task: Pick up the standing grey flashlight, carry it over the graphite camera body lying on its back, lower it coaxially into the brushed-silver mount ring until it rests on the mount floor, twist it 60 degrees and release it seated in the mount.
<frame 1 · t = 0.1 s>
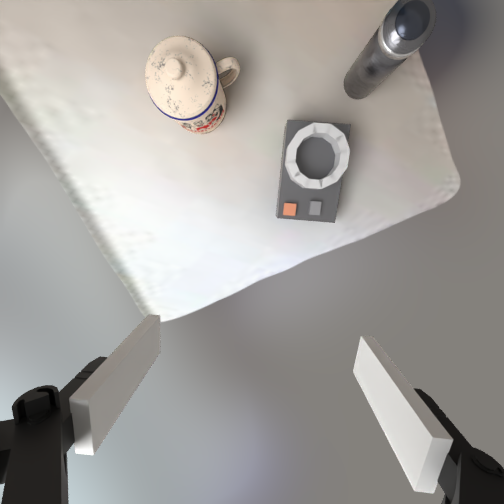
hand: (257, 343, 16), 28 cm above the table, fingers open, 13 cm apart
camera body: (307, 175, 39), on the table
grey flashlight: (359, 82, 36), on the table
teacup with lid: (207, 101, 38), on the table
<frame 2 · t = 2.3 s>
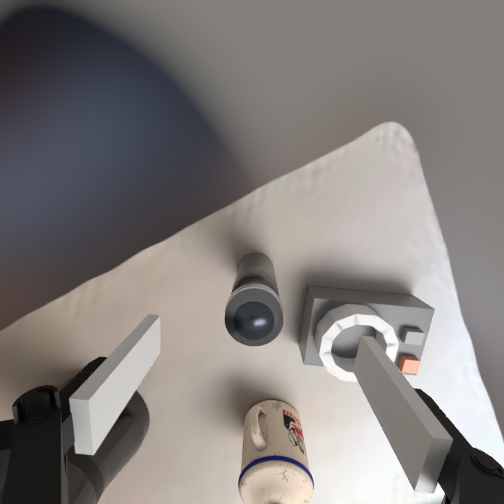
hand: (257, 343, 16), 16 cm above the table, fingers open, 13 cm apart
camera body: (353, 321, 33), on the table
grey flashlight: (256, 270, 31), on the table
teacup with lid: (268, 413, 37), on the table
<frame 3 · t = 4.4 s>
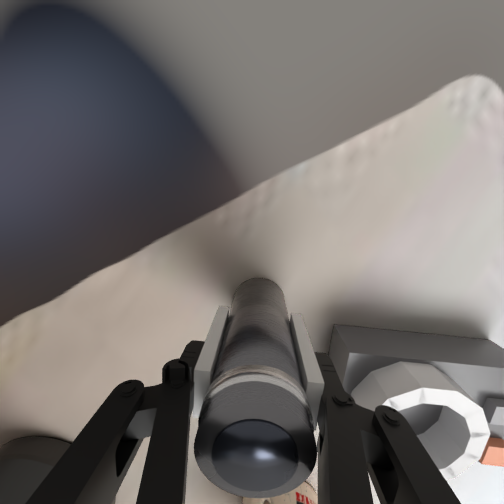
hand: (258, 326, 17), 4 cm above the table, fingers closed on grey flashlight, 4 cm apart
camera body: (399, 374, 23), on the table
grey flashlight: (259, 301, 22), on the table, touching gripper
teacup with lid: (275, 489, 27), on the table
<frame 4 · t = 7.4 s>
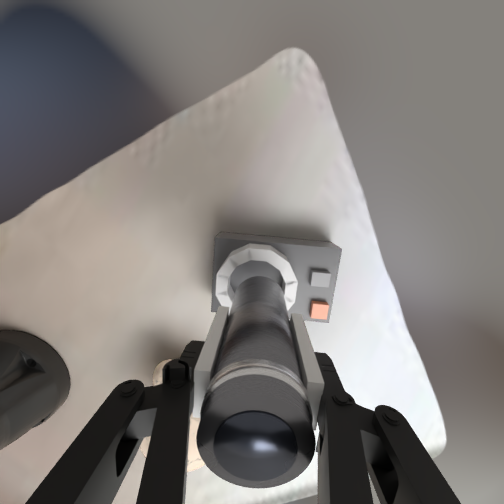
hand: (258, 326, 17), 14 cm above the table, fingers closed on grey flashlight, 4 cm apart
camera body: (272, 270, 31), on the table
grey flashlight: (259, 299, 22), point 9 cm above the table, touching gripper
teacup with lid: (192, 372, 35), on the table
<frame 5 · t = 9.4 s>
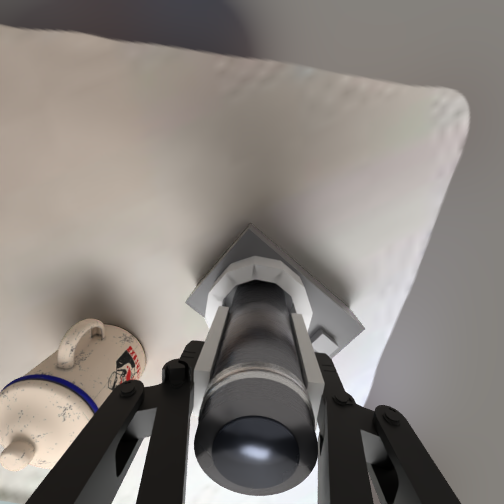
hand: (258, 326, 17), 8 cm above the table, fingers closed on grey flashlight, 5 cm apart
camera body: (272, 297, 26), on the table
grey flashlight: (259, 299, 21), point 4 cm above the table, touching camera body, gripper
teacup with lid: (113, 343, 28), on the table
when the fingers open (8 cm above the table, at t = 10.4 s): grey flashlight stays where it is, resting on camera body.
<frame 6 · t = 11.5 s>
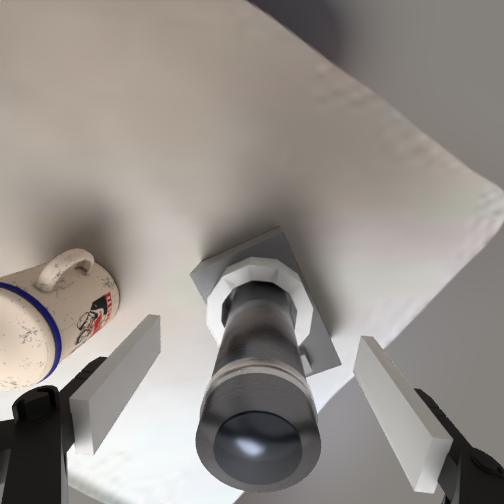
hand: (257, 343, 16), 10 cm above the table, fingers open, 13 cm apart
camera body: (267, 301, 26), on the table
grey flashlight: (259, 297, 21), point 4 cm above the table, touching camera body
teacup with lid: (90, 282, 26), on the table
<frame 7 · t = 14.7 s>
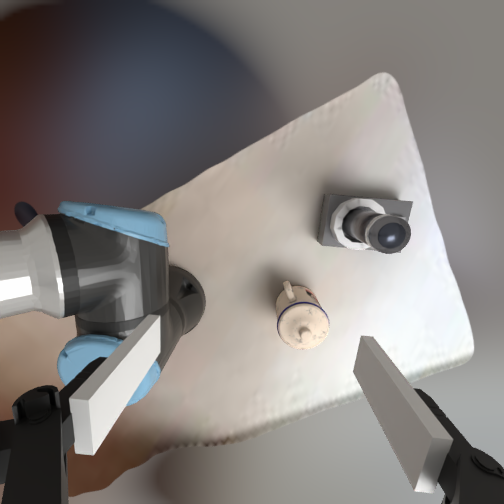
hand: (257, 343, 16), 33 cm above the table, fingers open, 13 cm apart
camera body: (357, 221, 46), on the table
grey flashlight: (352, 221, 42), point 4 cm above the table, touching camera body
teacup with lid: (293, 298, 50), on the table
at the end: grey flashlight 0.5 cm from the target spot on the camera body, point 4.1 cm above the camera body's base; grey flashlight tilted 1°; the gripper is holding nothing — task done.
